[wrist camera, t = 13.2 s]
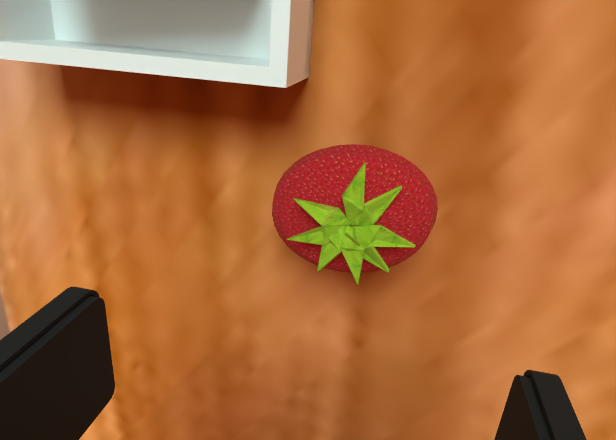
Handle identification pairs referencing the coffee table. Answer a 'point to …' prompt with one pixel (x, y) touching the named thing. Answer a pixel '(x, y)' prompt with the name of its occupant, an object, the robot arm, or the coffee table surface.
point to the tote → (165, 37)
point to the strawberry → (354, 208)
